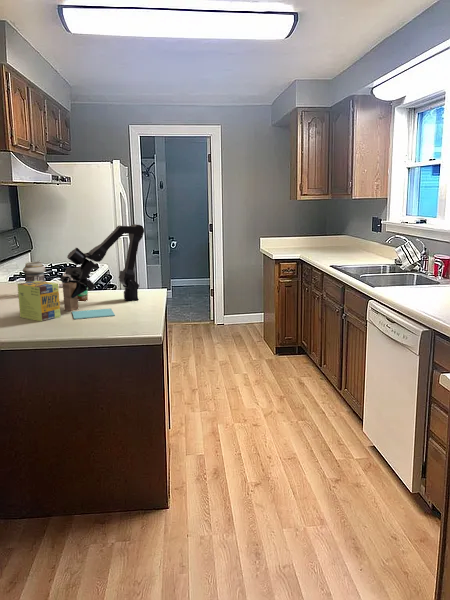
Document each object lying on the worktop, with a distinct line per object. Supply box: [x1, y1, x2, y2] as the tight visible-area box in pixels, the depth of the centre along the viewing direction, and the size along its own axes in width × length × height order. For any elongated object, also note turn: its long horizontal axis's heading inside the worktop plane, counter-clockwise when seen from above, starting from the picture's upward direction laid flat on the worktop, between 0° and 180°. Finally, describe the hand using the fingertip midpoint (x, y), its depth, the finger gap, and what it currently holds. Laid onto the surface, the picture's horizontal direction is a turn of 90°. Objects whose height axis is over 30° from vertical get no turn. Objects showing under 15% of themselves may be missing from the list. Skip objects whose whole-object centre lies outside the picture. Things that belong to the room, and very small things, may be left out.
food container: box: [77, 288, 89, 302], centre depth 263 cm, size 12×6×10 cm, turn 168°
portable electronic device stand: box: [58, 271, 73, 288], centre depth 302 cm, size 9×8×8 cm
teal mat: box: [71, 308, 116, 320], centre depth 235 cm, size 18×14×1 cm
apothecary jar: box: [22, 261, 47, 283], centre depth 278 cm, size 12×12×18 cm
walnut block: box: [62, 282, 79, 312], centre depth 242 cm, size 4×4×13 cm
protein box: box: [17, 281, 61, 322], centre depth 228 cm, size 10×15×16 cm
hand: (68, 296), depth 241 cm, fingers open, 5 cm apart
